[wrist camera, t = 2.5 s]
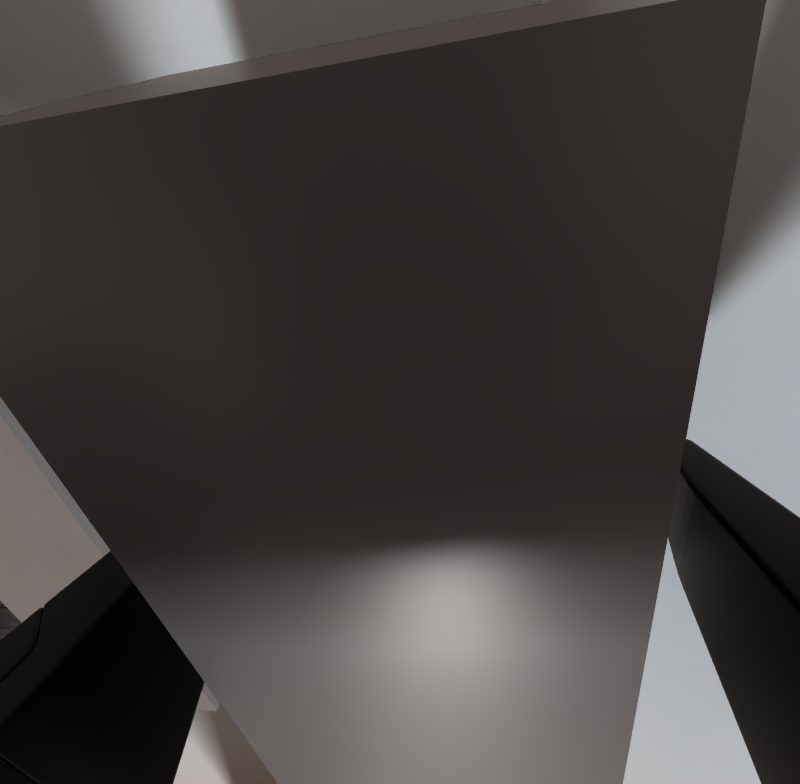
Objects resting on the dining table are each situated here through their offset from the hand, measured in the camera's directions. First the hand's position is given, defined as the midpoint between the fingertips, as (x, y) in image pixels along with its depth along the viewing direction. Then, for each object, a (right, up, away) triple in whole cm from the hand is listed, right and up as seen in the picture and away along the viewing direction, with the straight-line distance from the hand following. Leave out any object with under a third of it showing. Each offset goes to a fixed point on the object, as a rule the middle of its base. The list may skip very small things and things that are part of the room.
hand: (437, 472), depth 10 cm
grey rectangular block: (0, +1, +1) cm, 2 cm away
